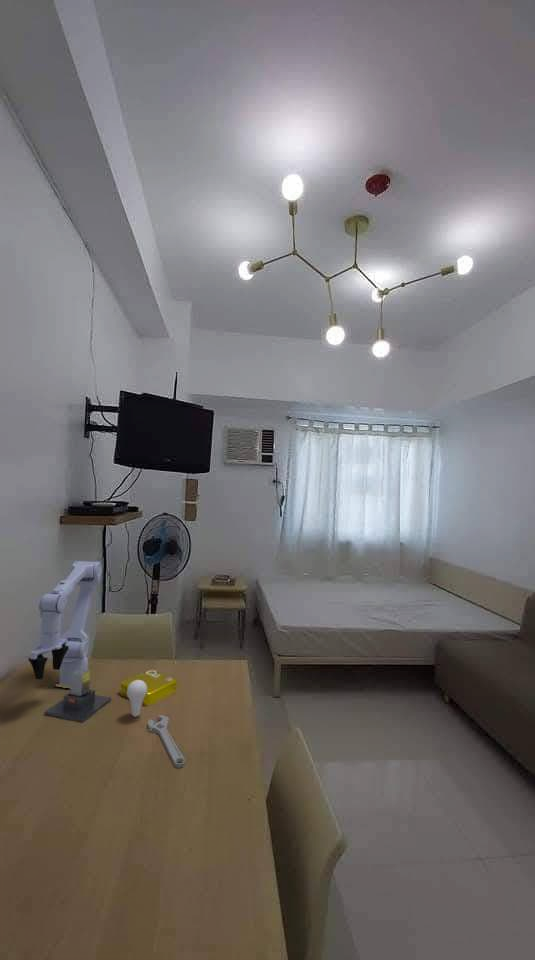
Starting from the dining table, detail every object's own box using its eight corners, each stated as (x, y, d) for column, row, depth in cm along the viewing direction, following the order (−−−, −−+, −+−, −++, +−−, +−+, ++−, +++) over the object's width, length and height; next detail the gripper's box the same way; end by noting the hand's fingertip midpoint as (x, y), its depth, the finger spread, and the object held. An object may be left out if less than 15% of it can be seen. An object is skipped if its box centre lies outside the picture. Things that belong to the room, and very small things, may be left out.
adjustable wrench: (186, 768, 107) (186, 761, 107) (161, 774, 104) (161, 767, 104) (166, 719, 130) (166, 713, 130) (145, 723, 127) (145, 717, 127)
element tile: (117, 695, 144) (118, 681, 144) (150, 679, 157) (151, 667, 157) (147, 708, 136) (147, 693, 136) (179, 691, 149) (180, 677, 149)
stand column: (78, 692, 136) (79, 668, 137) (90, 694, 135) (91, 669, 136) (69, 698, 132) (71, 673, 133) (81, 700, 131) (82, 675, 132)
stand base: (75, 694, 142) (76, 679, 142) (111, 700, 139) (111, 686, 139) (44, 714, 129) (45, 698, 129) (82, 722, 125) (83, 705, 125)
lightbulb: (148, 712, 133) (150, 677, 133) (141, 722, 126) (143, 685, 127) (130, 710, 133) (132, 675, 134) (122, 720, 127) (124, 684, 128)
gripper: (44, 639, 126) (41, 685, 126) (76, 626, 141) (73, 666, 140) (25, 637, 128) (22, 681, 127) (58, 623, 142) (56, 664, 141)
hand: (47, 673), depth 134 cm, fingers open, 7 cm apart
